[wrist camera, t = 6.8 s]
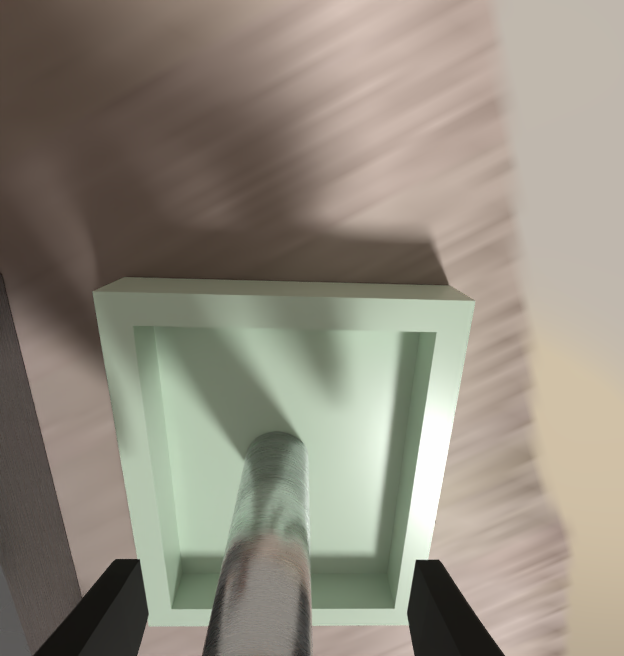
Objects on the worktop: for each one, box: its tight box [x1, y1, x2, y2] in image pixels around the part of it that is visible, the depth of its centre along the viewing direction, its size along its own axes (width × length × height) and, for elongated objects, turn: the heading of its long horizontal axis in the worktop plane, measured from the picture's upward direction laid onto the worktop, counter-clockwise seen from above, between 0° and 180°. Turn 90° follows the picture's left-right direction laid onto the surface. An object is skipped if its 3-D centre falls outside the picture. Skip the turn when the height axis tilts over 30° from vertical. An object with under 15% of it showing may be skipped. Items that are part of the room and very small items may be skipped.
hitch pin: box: [202, 431, 313, 656], centre depth 10 cm, size 4×4×9 cm
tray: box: [92, 277, 475, 626], centre depth 14 cm, size 14×11×2 cm
